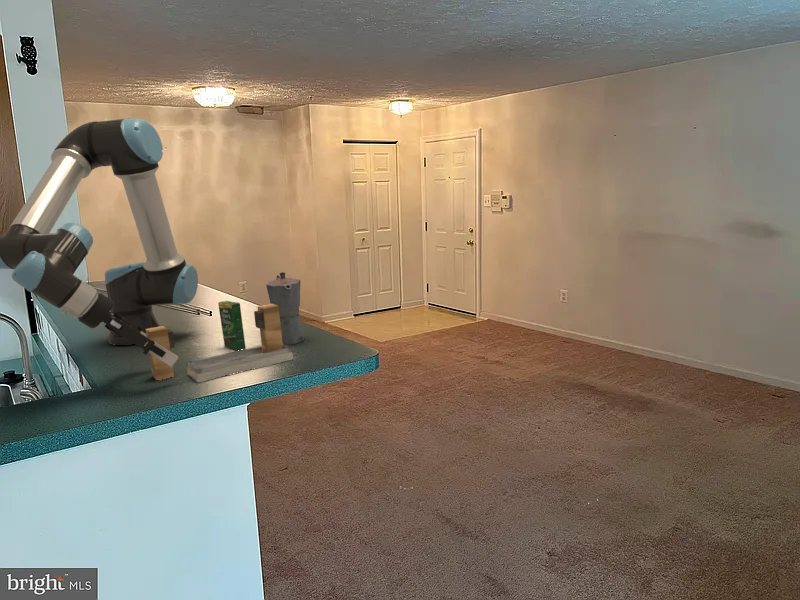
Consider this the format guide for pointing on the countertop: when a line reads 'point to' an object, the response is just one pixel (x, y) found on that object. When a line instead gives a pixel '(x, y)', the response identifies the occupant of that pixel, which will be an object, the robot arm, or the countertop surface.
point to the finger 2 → (269, 327)
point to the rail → (236, 362)
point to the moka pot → (287, 307)
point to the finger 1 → (166, 341)
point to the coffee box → (232, 325)
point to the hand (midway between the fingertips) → (167, 355)
